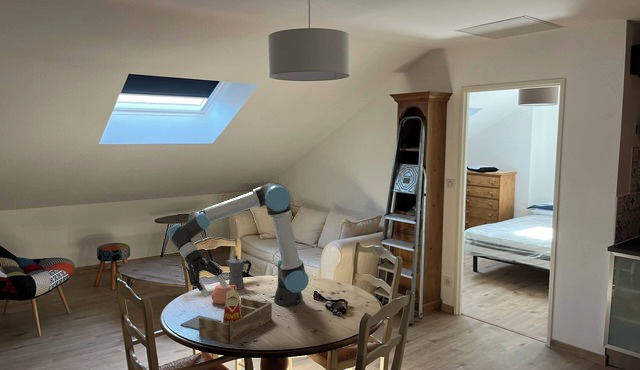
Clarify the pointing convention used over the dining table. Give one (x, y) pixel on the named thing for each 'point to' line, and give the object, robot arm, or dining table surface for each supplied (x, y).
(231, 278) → the coffeepot
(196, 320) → the mat
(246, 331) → the lane rack
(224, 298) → the sugar bowl
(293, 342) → the dining table surface
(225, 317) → the milk carton
